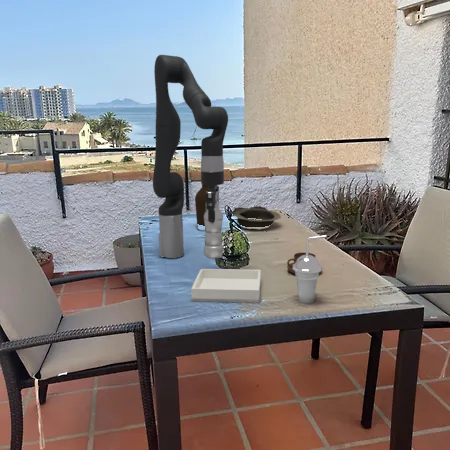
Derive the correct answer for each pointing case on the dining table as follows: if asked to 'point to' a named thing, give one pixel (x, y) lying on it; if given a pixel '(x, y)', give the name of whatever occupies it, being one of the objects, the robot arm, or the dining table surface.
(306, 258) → the cup with straw
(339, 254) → the dining table surface
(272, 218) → the stone bowl
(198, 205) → the olive oil
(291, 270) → the cup and saucer
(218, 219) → the plastic bottle
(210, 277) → the tray
